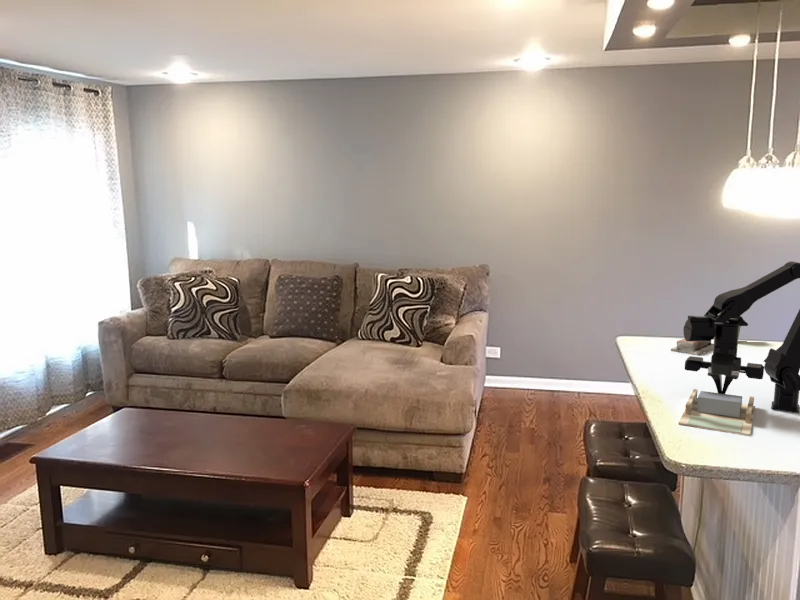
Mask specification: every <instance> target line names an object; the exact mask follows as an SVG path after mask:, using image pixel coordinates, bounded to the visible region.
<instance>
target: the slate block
mask: <svg viewBox="0 0 800 600" xmlns="http://www.w3.org/2000/svg"><path fill="white" fill-rule="evenodd" d="M697 398H698V405H697V412H704V413H710V414H717V415H724V416H731V417H738V418H740V414H741V407H742V404H743V396H742V395H736V394H735V395H734V394H726V393H725V394H721V393H718V392H712V391H705V390H701V391H700V392H699V394H698V395H697Z"/></svg>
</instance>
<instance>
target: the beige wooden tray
mask: <svg viewBox="0 0 800 600" xmlns="http://www.w3.org/2000/svg"><path fill="white" fill-rule="evenodd" d="M698 390H699V389H697V388H693V389H692V391H691V394H690V395H689V398H688V399H687V402H686V403H685V409H684V411H683V413H682V415H681V417H680V420H678V424H680V426H685V425H688V426H687V427H691V426H694V427H693V428H697V427H699V428H698V429H704V428H707V429H706V430H710V429H713V430H712V431H717V430H719V431H718V432H723V431H725V432H724V433H729V432H731V434H737V435H742V434H743V435H744V436H748V435H749V436H751V433H752V432H751V431H752V428H753V421H754V417H755V411H756V405H754V402H755V397H754V396H752V395H750V396H749V399H748V403H747V404H744V403H742V407H741V414H740V418H738V417H731V416H724V415H717V414H710V413H704V412H697V405H698V393H699V391H698ZM749 436H748V437H749Z"/></svg>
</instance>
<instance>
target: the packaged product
mask: <svg viewBox="0 0 800 600" xmlns="http://www.w3.org/2000/svg"><path fill="white" fill-rule="evenodd" d="M713 348H714V343H712V340H711V341H709V342H702V341H686V340H685V338H682V339H679V340H677V341H676V347H672V348H670V351H671V352H674V353H681V354H685V355H687V354H688V355H690V356H701V355H702V354H705V353H707V352H711V351H713Z"/></svg>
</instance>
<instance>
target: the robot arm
mask: <svg viewBox="0 0 800 600" xmlns="http://www.w3.org/2000/svg"><path fill="white" fill-rule="evenodd" d="M797 279H800V262H797V261H787V262H786V263H785V264H784V265H782V266H781V267H778V268H777V269H775V270H773V271H771V272H770V273H768V274H766V275H764V276H762V277H760V278H759V279H758V278H757V280H755V281H753V282H751V283H749V284H748V285H746V286H743V287H741V288H736V289H731V290H729V291H726V292H723V293H720V294H718V295H717V296H715V298H714V301H713V304H712V305H711V306H710V308H709V309H708V310H707V311H706V312H705V313H704V314H703V316H697V315H687V320H686V321H685V322H684V326H683V337H684V338H683V339H685V340H686V341H702V342H709V341H711V342H712V340H713V344H714V348H713V350H712V355H711V358H710V359H711V360H710V361H704V357H699V356H694V355H690V356H688V357H687V358H686V359H685V361H684V370H685V371H690V372H698V371H700V370H701V369H706V370H707V376H709V377H711V379H712V380H713V381H714V385H715V386H716V390H717V393H721V394H726V393H727V390H728V388H729V386H730V385H731V384H732V382H733V380H739V377H740V374H745V376H746V377H747V378H749V379H756V380H763V379H764V374H765V373H766V375H768V377H769V379H770V382H772V383H774V391H773V393H774V394H773V395H774V396H773V401H771V407H770V410H775V411H780V412H781V411H783V412H788V413H794V414H795V413H796V414H799V413H800V404H799V398H800V374H799V373H800V308H799V309H798V312H797V314H796V315H795V317H794V320H793V322H792V324H791V326H790V328H789V330H788V332H787V334H786V336H785V338H784V340H783V342H782V344H781V345H780V346H779V347H778V348H777V349H774V348H770V349H769V351H768V353H767V357H766V358H764V360H763V363H764V365H763V364H761V363H753V362H747V364H746V365H742V357H737V356H738V343H739V337H738V335H739V336H740V333H739V326H741V327H748V326H749V323H748V322H746V320H744V318H743V316H742V315H743V314H745V312H747V311H748V310H750V309H751V307H752V306H753V305H754V303H756V302H757V301H759V300H761V299H762V298H764V297H766V296H768V295H769V294H771V293H773V292H776V291H777V290H779V289H780V288H783V287H784V286H786V285H788V284H790V283H792V282H794V281H795V280H797ZM730 318H734V319H730ZM722 376H725V377H724V380H723V379H722V378H723V377H722ZM723 381H724V382H723Z"/></svg>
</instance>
